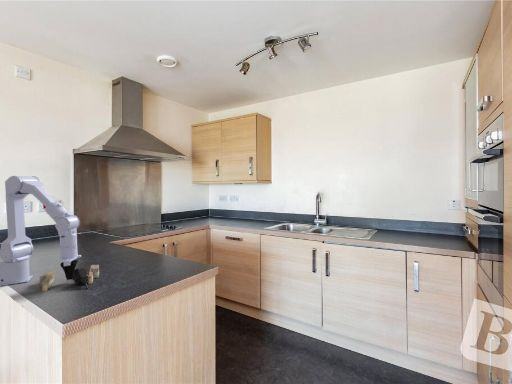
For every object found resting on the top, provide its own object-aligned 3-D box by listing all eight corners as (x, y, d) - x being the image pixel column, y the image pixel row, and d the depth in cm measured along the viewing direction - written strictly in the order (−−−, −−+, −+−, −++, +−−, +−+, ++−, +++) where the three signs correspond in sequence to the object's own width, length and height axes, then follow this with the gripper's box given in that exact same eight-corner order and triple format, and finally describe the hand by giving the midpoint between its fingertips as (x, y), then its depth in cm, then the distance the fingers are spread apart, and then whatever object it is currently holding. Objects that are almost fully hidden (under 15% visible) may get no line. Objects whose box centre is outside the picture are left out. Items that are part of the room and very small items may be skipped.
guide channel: (35, 292, 100) (35, 282, 99) (46, 278, 115) (45, 269, 115) (97, 282, 109) (97, 272, 109) (99, 270, 125) (99, 261, 125)
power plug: (78, 289, 100) (72, 265, 107) (76, 302, 103) (70, 278, 110) (95, 285, 104) (88, 262, 111) (93, 297, 107) (86, 274, 114)
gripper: (78, 248, 105) (80, 282, 105) (82, 241, 117) (83, 272, 118) (56, 250, 101) (57, 286, 102) (62, 243, 114) (63, 275, 114)
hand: (70, 279), depth 110 cm, fingers closed
